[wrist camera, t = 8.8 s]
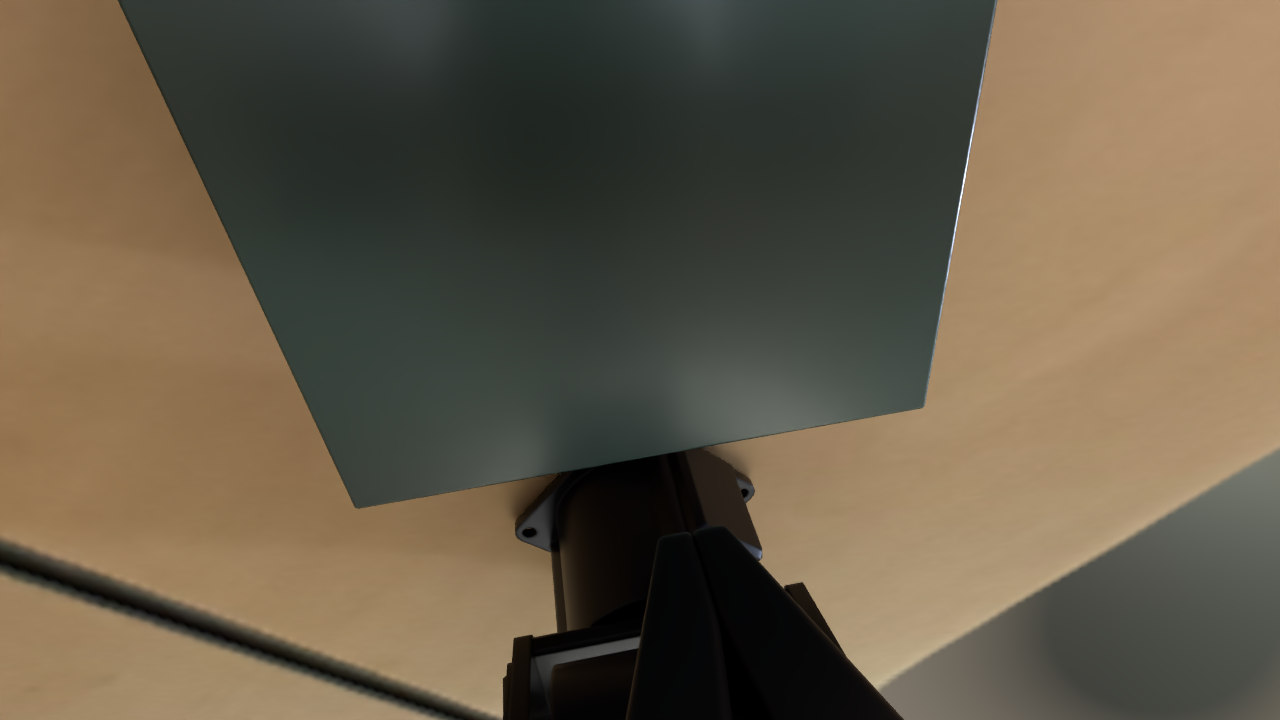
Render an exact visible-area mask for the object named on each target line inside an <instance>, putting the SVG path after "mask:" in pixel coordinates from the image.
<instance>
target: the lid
mask: <svg viewBox="0 0 1280 720" xmlns="http://www.w3.org/2000/svg"><path fill="white" fill-rule="evenodd" d="M118 2H119V4H120V6H121V8H122V10H123V12H124V15H125V17H126V19H127V21H128V23H129V25H130V27H131V30H132V32H133V34H134V36H135V38H136V40H137V42H138V45H139V47H140V49H141V51H142V53H143V55H144V57H145V60H146V62H147V64H148V66H149V68H150V70H151V72H152V74H153V77H154V79H155V81H156V83H157V85H158V87H159V89H160V92H161V94H162V96H163V98H164V100H165V102H166V104H167V107H168V109H169V111H170V113H171V115H172V117H173V119H174V122H175V124H176V126H177V128H178V130H179V132H180V134H181V136H182V139H183V141H184V143H185V145H186V147H187V149H188V151H189V154H190V156H191V158H192V160H193V162H194V164H195V166H196V169H197V171H198V173H199V175H200V177H201V179H202V181H203V184H204V186H205V188H206V190H207V192H208V194H209V196H210V199H211V201H212V203H213V205H214V207H215V209H216V211H217V213H218V216H219V218H220V220H221V222H222V224H223V226H224V228H225V231H226V233H227V235H228V237H229V239H230V241H231V243H232V246H233V248H234V250H235V252H236V254H237V256H238V258H239V261H240V263H241V265H242V267H243V269H244V271H245V273H246V275H247V278H248V280H249V282H250V284H251V286H252V288H253V290H254V293H255V295H256V297H257V299H258V301H259V303H260V305H261V308H262V310H263V312H264V314H265V316H266V318H267V320H268V323H269V325H270V327H271V329H272V331H273V333H274V335H275V337H276V340H277V342H278V344H279V346H280V348H281V350H282V352H283V355H284V357H285V359H286V361H287V363H288V365H289V367H290V370H291V372H292V374H293V376H294V378H295V380H296V382H297V385H298V387H299V389H300V391H301V393H302V395H303V397H304V399H305V402H306V404H307V406H308V408H309V410H310V412H311V414H312V417H313V419H314V421H315V423H316V425H317V427H318V429H319V432H320V434H321V436H322V438H323V440H324V442H325V444H326V447H327V449H328V451H329V453H330V455H331V457H332V459H333V461H334V464H335V466H336V468H337V470H338V472H339V474H340V476H341V479H342V481H343V483H344V485H345V487H346V489H347V491H348V494H349V496H350V498H351V500H352V502H353V504H354V506H355V508H358V509H359V508H365V507H370V506H376V505H382V504H387V503H393V502H399V501H404V500H410V499H415V498H421V497H427V496H432V495H438V494H443V493H449V492H455V491H460V490H466V489H471V488H477V487H483V486H488V485H494V484H499V483H505V482H511V481H516V480H522V479H527V478H533V477H539V476H544V475H550V474H555V473H561V472H567V471H572V470H578V469H583V468H589V467H595V466H600V465H606V464H612V463H617V462H623V461H628V460H634V459H640V458H645V457H651V456H656V455H662V454H668V453H673V452H679V451H684V450H690V449H696V448H701V447H707V446H712V445H718V444H724V443H729V442H735V441H740V440H746V439H752V438H757V437H763V436H768V435H774V434H780V433H785V432H791V431H796V430H802V429H808V428H813V427H819V426H825V425H830V424H836V423H841V422H847V421H853V420H858V419H864V418H869V417H875V416H881V415H886V414H892V413H897V412H903V411H909V410H914V409H920V408H923V407H924V406H925V400H926V394H927V389H928V383H929V378H930V372H931V367H932V361H933V355H934V350H935V344H936V339H937V333H938V328H939V322H940V316H941V311H942V305H943V300H944V294H945V289H946V283H947V277H948V272H949V266H950V261H951V255H952V250H953V244H954V238H955V233H956V227H957V222H958V216H959V211H960V205H961V199H962V194H963V188H964V183H965V177H966V172H967V166H968V160H969V155H970V149H971V144H972V138H973V133H974V127H975V121H976V116H977V110H978V105H979V99H980V94H981V88H982V82H983V77H984V71H985V66H986V60H987V55H988V49H989V43H990V38H991V32H992V27H993V21H994V16H995V10H996V4H997V0H118Z"/></svg>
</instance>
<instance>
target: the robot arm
mask: <svg viewBox="0 0 1280 720" xmlns="http://www.w3.org/2000/svg"><path fill="white" fill-rule="evenodd" d="M740 489H741V490H740ZM754 492H755V490H754V487H753V484H752V482H751V480H750V479H749V478H748V477H746V476H744V475H743V474H741V473H739V472H737V471H735V470H733V468H732V466H731V465H730V464H729V463H727V462H725V461H724V460H722V459H720V458H718V457H716V456H714V455H712V454H711V453H709V452H707V451H705V450H703V449H701V448H696V449H690V450H684V451H679V452H673V453H668V454H662V455H656V456H651V457H645V458H640V459H634V460H628V461H623V462H617V463H612V464H606V465H600V466H595V467H589V468H583V469H578V470H572V471H567V472H562V473H561V474H560V475H559V476H558V477H557V478H556V479H555V480H554V481H553V482H552V483H551V484H550V486H549V487H548V488H547V489H546V490H545V491H544V492H543V493H542V494H541V495H540V496H539V497H538V498H537V499H536V500H535V501H534V502H533V503H532V505H531V506H530V507H529V508H528V509H527V510H526V511H525V512H524V513H523V514H522V515H521V516H520V517H519V518H518V519H517V521H516V523H515V535H516V537H517V538H518V539H519V540H521V541H523V542H526V543H528V544H531V545H533V546H536V547H538V548H541V549H543V550H546V551H548V552H551V557H552V569H553V582H554V595H555V608H556V620H557V633H554V634H549V635H544V636H539V637H533V635H527V636H522V637H517V638H514V642H513V656H512V663H508V664H507V675H506V676H505V677H504V678H503V720H904V719H903V718H902V717H901V716H900V715H899V714H898V713H897V712H896V710H895V709H894V708H893V707H892V706H891V705H890V704H889V703H888V702H887V701H886V700H885V699H884V697H883V696H882V695H881V694H880V693H879V692H878V691H877V690H876V689H875V688H874V687H873V685H872V684H871V683H870V682H869V681H868V680H867V679H866V678H865V677H864V676H863V675H862V673H861V672H860V671H859V670H858V669H857V668H856V667H855V666H854V665H853V664H852V663H851V661H850V660H849V659H848V658H847V657H846V655H845V654H844V652H843V650H842V648H841V647H840V645H839V643H838V642H837V640H836V638H835V636H834V635H833V633H832V631H831V630H830V628H829V626H828V625H827V623H826V621H825V619H824V618H823V616H822V614H821V613H820V611H819V609H818V608H817V606H816V604H815V602H814V601H813V599H812V597H811V596H810V594H809V592H808V590H807V589H806V587H805V585H804V584H803V582H801V583H796V584H791V585H786V586H784V588H783V587H782V586H781V585H780V584H779V583H778V582H777V581H776V580H775V579H774V578H773V577H772V575H771V574H770V573H769V572H768V571H767V570H766V569H765V568H764V567H763V566H762V565H761V563H760V562H759V560H760V559H761V558H762V547H761V545H760V542H759V539H758V536H757V534H756V531H755V528H754V526H753V523H752V520H751V517H750V515H749V512H748V509H747V506H746V504H745V503H746V502H748V501H749V500H750V499H751V498H752V497H753V495H754ZM526 528H531V529H526Z"/></svg>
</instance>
